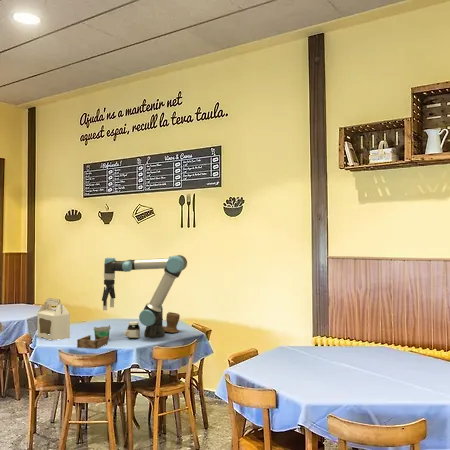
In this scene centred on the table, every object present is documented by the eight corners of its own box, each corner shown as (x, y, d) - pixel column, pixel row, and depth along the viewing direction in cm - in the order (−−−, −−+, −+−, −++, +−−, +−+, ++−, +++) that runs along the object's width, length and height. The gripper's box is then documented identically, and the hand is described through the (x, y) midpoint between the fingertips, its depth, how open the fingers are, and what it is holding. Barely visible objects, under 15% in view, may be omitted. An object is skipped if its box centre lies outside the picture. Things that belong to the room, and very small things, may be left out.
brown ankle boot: (182, 332, 382) (182, 312, 382) (170, 334, 374) (170, 314, 374) (170, 329, 393) (170, 310, 393) (158, 331, 385) (158, 312, 385)
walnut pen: (107, 343, 343) (107, 336, 343) (96, 348, 328) (96, 341, 328) (89, 342, 346) (89, 335, 347) (77, 347, 332) (77, 339, 332)
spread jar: (136, 340, 354) (136, 323, 354) (121, 339, 356) (121, 323, 356) (142, 336, 366) (142, 320, 366) (127, 336, 368) (127, 320, 368)
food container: (96, 342, 345) (96, 328, 345) (93, 341, 350) (93, 327, 350) (113, 340, 353) (113, 326, 353) (109, 339, 358) (109, 325, 358)
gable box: (37, 336, 365) (37, 298, 366) (53, 333, 375) (53, 296, 376) (53, 341, 351) (53, 301, 351) (70, 338, 361) (70, 299, 361)
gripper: (110, 277, 373) (109, 305, 373) (97, 280, 348) (96, 311, 348) (120, 277, 372) (119, 306, 372) (108, 281, 347) (107, 311, 347)
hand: (108, 308), depth 360 cm, fingers open, 13 cm apart
